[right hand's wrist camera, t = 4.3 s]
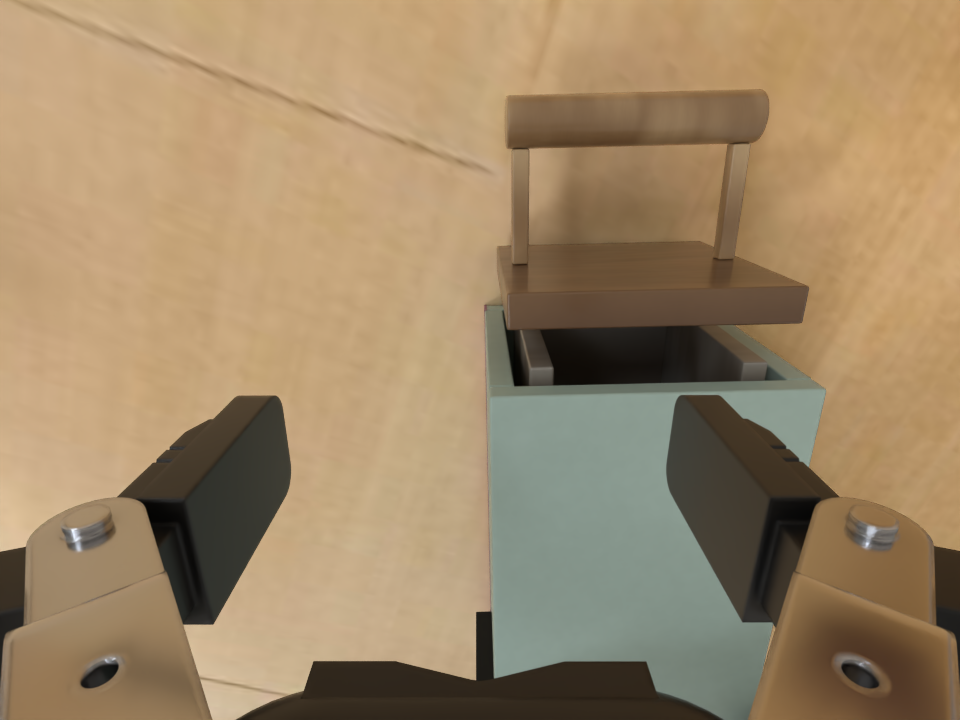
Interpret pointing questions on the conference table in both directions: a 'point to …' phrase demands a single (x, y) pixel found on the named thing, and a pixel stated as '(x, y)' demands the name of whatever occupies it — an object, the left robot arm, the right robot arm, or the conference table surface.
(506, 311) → the drawer
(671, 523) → the cabinet
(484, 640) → the left robot arm
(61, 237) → the conference table surface
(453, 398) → the conference table surface
